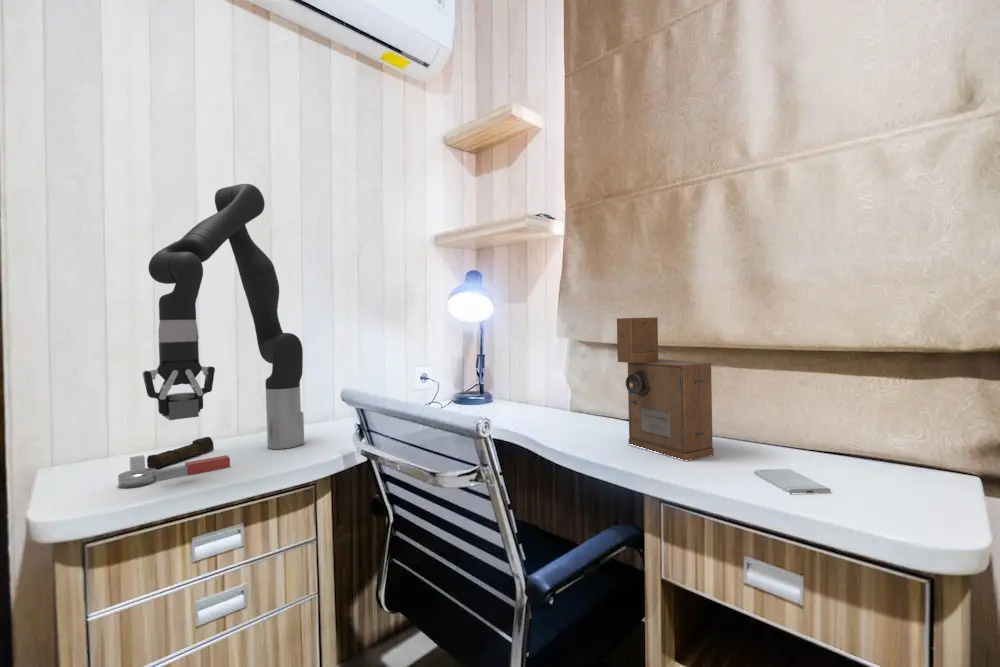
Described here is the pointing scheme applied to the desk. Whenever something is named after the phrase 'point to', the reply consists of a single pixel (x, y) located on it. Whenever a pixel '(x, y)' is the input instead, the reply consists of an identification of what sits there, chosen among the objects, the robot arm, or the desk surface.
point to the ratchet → (166, 471)
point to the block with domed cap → (182, 406)
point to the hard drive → (791, 481)
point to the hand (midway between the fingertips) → (181, 413)
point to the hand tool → (180, 453)
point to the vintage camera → (664, 394)
